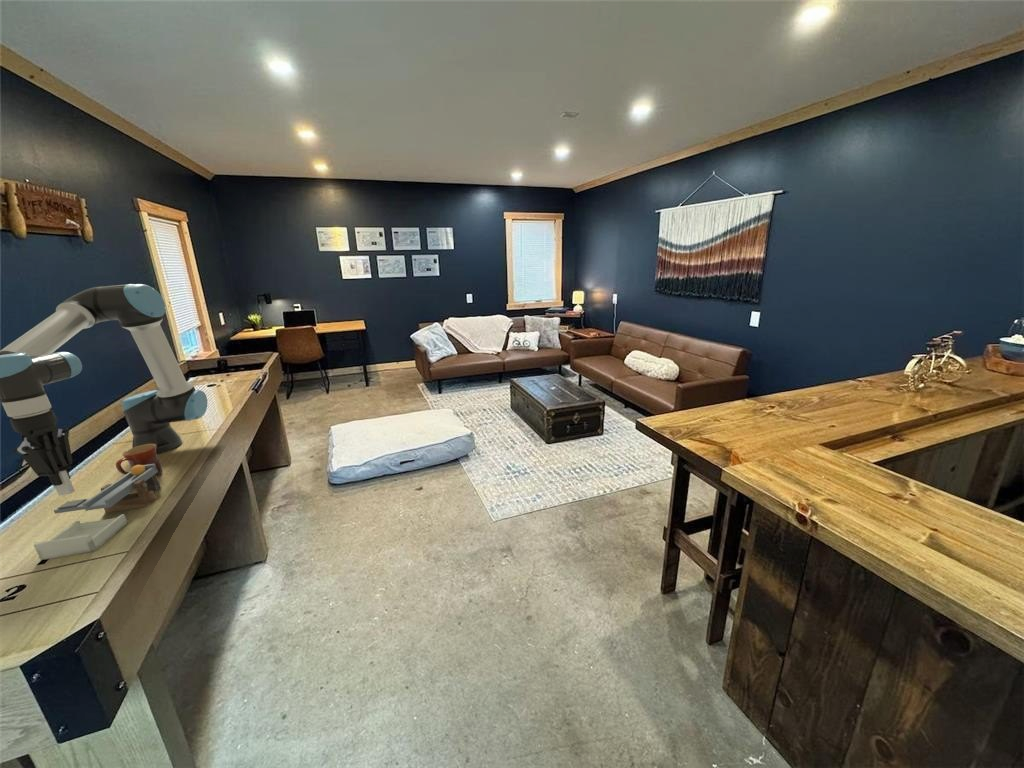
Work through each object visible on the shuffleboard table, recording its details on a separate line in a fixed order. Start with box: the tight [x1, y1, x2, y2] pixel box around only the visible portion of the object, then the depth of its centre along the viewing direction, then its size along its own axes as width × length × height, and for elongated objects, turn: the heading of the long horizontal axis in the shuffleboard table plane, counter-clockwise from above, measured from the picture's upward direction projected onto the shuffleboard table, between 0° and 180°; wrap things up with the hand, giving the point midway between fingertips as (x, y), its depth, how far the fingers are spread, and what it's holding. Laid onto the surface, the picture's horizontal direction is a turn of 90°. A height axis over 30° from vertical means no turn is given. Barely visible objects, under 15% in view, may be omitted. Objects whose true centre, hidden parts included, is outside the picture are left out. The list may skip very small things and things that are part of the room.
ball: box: [130, 465, 146, 476], centre depth 124 cm, size 3×3×3 cm
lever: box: [53, 464, 158, 515], centre depth 117 cm, size 20×14×3 cm
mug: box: [115, 444, 163, 477], centre depth 135 cm, size 12×9×10 cm
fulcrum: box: [100, 474, 162, 513], centre depth 123 cm, size 12×11×8 cm
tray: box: [33, 513, 129, 561], centre depth 104 cm, size 12×12×4 cm
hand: (67, 493), depth 109 cm, fingers closed
